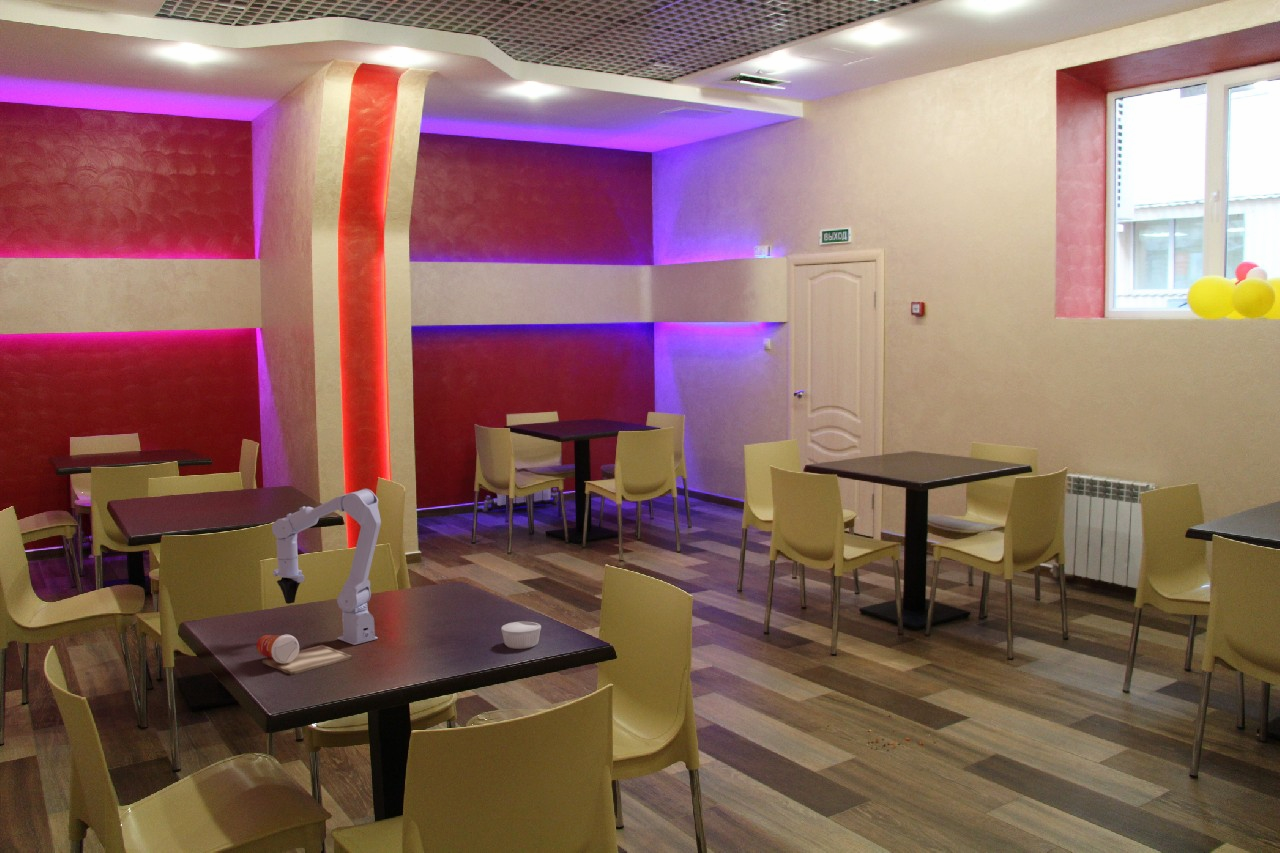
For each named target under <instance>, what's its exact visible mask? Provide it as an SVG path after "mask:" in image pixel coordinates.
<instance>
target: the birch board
mask: <svg viewBox="0 0 1280 853" xmlns="http://www.w3.org/2000/svg"><path fill="white" fill-rule="evenodd" d="M352 659H353V656H352V655H351V654H348V653H346V652H344V651H340V650H338V649H335V648H332V647H330V646H327V645H324V644H319V645H316V646H313V647H308V648H305V649H301V650H300V649H299V653H298V655H297V657H296V658H295V659H294V660H293V661H291V662H289V663H285V664H282V663H279V662H276V661H275V660H274V659H271V658H269V657H268V658H264V659H262V664H264V665H267V666H269V667H271V668H274V669H276V670H278V671H281V672H283V673H285V674H287V675H290V676H293V675H298V674H300V673H304V672H308V671H311V670H315V669H320V668H323V667H326V666H329V665H330V666H331V665H334V664H339V663H341V662H344V661H349V660H352Z"/></svg>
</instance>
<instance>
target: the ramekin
mask: <svg viewBox="0 0 1280 853" xmlns="http://www.w3.org/2000/svg"><path fill="white" fill-rule="evenodd" d="M500 629H501V633H502V637H503V643H504V645H505V646H506V647H507V648H510V649H516V650H517V649H520V650H522V649H528V648H529V649H530V648H533V647H535V646H537V645H538V643H539V639H540V633H541V629H542V625H541V624H540V623H537V622H533V621H513V622H509V623H506V624H504V625H502V626H501V628H500Z"/></svg>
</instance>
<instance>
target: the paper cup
mask: <svg viewBox="0 0 1280 853" xmlns="http://www.w3.org/2000/svg"><path fill="white" fill-rule="evenodd" d="M256 651H257V652H258V653H259V654H260V655H262V656H264V657H266V658H268V659H269V658H271V659H274V660H275V661H276V662H279V663H282V664H285V663H289V662H291V661H293V660H294V659H295V658H296V657H297V655H298V653H299V651H300V644H299V641H298V639H297V638H296V637H295V636H293V635H291V634H282V635H280V634H265V635H263V636H261V637H259V638H258V639H257V642H256Z"/></svg>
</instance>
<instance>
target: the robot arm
mask: <svg viewBox="0 0 1280 853" xmlns="http://www.w3.org/2000/svg"><path fill="white" fill-rule="evenodd" d="M298 509H299V510H297V511H296V512H293V513H291V512H290V513H287V514H286V515H285V516H286V517H283V518H277V519H276V520H275V521H274V522H273V523H272V525H271V532H272V534H273V536H274V537H275V538H276V541H275V542H276V553H277V555H276V556H277V557H276V558H277V568H276V569H273V571H272V574H273V577H278V578H280V579H278V580H276V583H277V584H278V586H279V588H280V590H281V591H282V595H283V599H284V601H285V604H288V605H289V604H294V603H295V601H296V597H297V596H296V595H297V591H298V589H299V586H300V585H301V583H304V582H305V575H304V574H302V573H303V570H302V569H299V555H298V541H297V540H298V533H300V532H302V531H304V530H305V531H306V530H307V529H309V528H311V527H313V526H315V525H317V524H318V521H319V519H320V518H322V517H324V516H327V515H329V514H331V513H333V512H336V511H340V512H345V513H346V514H347V515H348V516H350V518H352V519H353V520H355V521H356V522H357V523H358V524H359V526H360V530H359V534H358V539H357V542H356V547H355V549H354V550H355V551H354V554H353V559H352V563H351V568H350V571H349V576H348V578H347V579H346V580H345V583H344V584H343V586H342V589H341V591H340V592H339V594H338V595H337V598H336V602H337V606H338V607H339V609H340V610H341V613H342V614H341V615H342V618H341V619H342V636H338V637H337V640H339V641H342V642H345V643H347V644H351V645H353V646H355V645H359V644H363V643H367V642H370V641H375V640H378V639H379V638H378V637H377V636H376V630H375V618H374V616H373V614H371V613H370V611H369V610H368V602H370V599H371V597H372V592H371V585H372V584H371V581H370V580H369V575H370V571H371V567H372V563H373V557H374V554H375V550H376V545H377V542H378V538H379V533H380V529H381V525H382V519H381V515H380V510H379V498H378V497H377V495H376V494H375V493H374V492H373V491H372V490H371V489H369V488H362V489H360V490H357V491H354V492H353V491H352V492H348V493H346V494H342V495H338V496H336V497H334V498H332V499H330V500H328V501H325V502H324V503H322V504H320V505H318V506H317V507H316V506H315V507H311V506H305V505H303V506H301V507H299V508H298Z"/></svg>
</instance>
